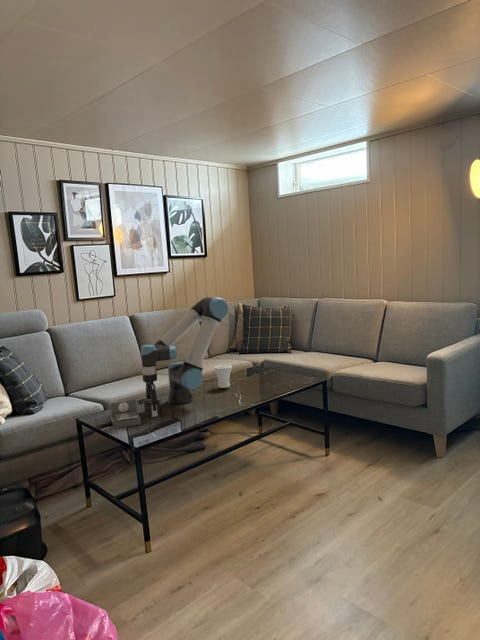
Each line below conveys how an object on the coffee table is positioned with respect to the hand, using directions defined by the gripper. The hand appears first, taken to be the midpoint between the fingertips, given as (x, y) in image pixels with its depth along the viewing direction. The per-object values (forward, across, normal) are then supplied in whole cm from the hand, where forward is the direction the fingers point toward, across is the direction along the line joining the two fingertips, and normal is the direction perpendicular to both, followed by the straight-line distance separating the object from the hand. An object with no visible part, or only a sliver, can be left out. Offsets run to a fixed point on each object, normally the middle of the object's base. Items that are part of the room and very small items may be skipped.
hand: (152, 413), depth 257 cm
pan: (-3, +10, -15) cm, 18 cm away
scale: (0, +8, -15) cm, 17 cm away
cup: (0, -32, +53) cm, 62 cm away
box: (0, 0, 0) cm, 0 cm away
